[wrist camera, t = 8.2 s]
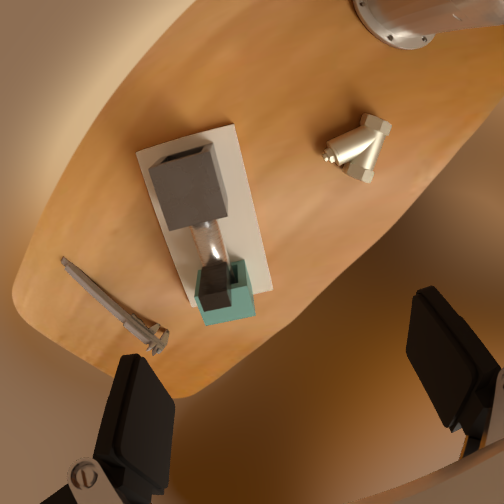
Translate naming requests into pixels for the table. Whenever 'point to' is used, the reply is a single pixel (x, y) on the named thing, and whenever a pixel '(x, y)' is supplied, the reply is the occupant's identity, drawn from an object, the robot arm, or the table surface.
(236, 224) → the base board
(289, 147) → the table surface
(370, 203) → the table surface
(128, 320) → the caliper
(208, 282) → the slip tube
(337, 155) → the pipe fitting
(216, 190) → the dark grey block
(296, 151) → the table surface
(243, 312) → the socket block
